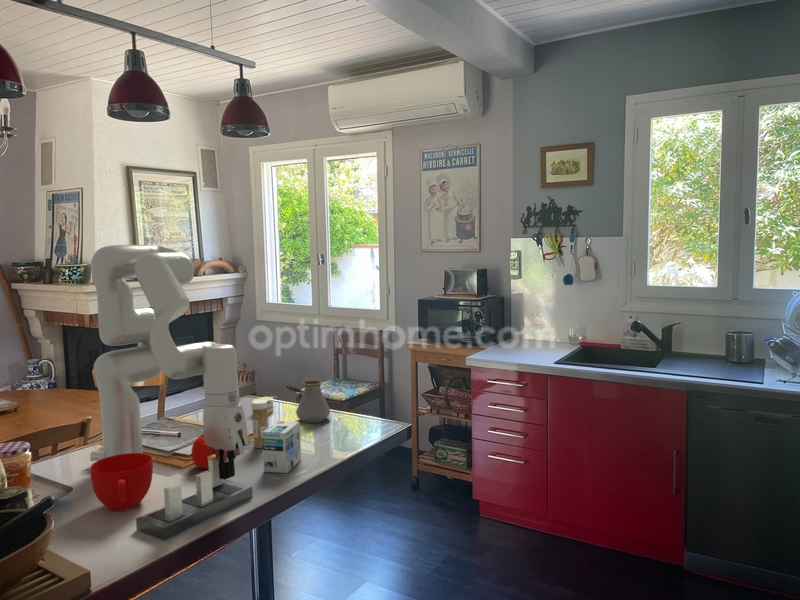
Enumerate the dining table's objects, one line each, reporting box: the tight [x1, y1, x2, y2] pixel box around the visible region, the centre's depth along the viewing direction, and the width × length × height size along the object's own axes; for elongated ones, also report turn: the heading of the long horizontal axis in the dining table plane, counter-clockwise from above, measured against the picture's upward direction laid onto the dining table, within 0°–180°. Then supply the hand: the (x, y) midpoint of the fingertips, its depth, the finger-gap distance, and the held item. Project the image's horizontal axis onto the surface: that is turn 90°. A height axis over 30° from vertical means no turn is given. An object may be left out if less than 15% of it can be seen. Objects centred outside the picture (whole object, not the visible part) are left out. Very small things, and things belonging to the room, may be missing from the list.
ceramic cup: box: [89, 452, 154, 512], centre depth 134 cm, size 13×17×10 cm
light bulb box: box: [262, 420, 302, 474], centre depth 159 cm, size 11×7×11 cm, turn 168°
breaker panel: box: [135, 470, 253, 541], centre depth 131 cm, size 24×9×9 cm, turn 148°
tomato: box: [191, 433, 214, 470], centre depth 160 cm, size 11×11×9 cm
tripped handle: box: [207, 454, 224, 487], centre depth 139 cm, size 3×2×7 cm, turn 149°
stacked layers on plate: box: [252, 396, 275, 416], centre depth 211 cm, size 10×9×6 cm
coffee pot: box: [282, 380, 331, 424], centre depth 197 cm, size 21×12×15 cm, turn 157°
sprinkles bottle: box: [251, 400, 269, 449], centre depth 175 cm, size 5×5×14 cm
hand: (227, 477), depth 138 cm, fingers closed
